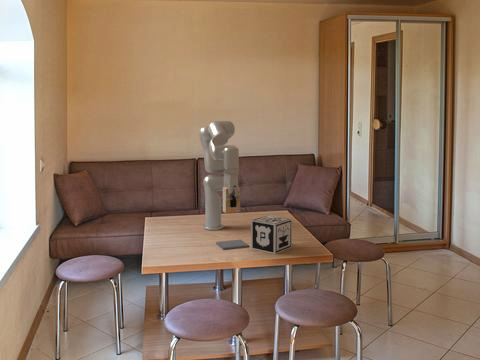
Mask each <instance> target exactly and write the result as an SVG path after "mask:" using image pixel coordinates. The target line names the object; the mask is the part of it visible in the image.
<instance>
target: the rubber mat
mask: <svg viewBox="0 0 480 360" xmlns="http://www.w3.org/2000/svg"><path fill="white" fill-rule="evenodd" d="M215 245H217V247H219V248H221V249H222V250H223V251H224V250H234V249H243V248H250V245H249V244H248V243H247V242H245V241H243V240H242V239H232V240H222V241H216V242H215Z"/></svg>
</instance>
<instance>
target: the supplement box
mask: <svg viewBox="0 0 480 360" xmlns="http://www.w3.org/2000/svg"><path fill="white" fill-rule="evenodd" d="M233 193H234V192H232V194H233ZM237 194H238V195H237V206H236V207H230V200H231V194H228V188H226V187H223V191H222V213H224V214H235V213H241V187H240V186H238V193H237ZM232 197H233V195H232Z"/></svg>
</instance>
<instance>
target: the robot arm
mask: <svg viewBox="0 0 480 360" xmlns="http://www.w3.org/2000/svg"><path fill="white" fill-rule="evenodd" d="M235 128H236V127H235V125H234V123H233V122H232V121H231V120H216V121H212V122H210V123H209V125H208V126H204V127H201V128H200V129H199V131H198V132H199V133H198V135H199V141H200V144H201V146H202V150H203V160H204V161H203V162H204V169H205V171H206V172H207V173H211V174H209V175H206V176H205V177H204V178H203V181H202V184H203V189H204V204H205V205H204V206H205V212H204V214H205V215H204V216H205V224H203V225H202V228H203V229H204V230H209V231H218V230H222V229H225V225H224V224H222V197H221V196H220V194H219V193H218V192H223V187H226V188H228V194H231V200H230V207H236V206H237V195H238V194H237V193H238V187H239V177H238V175H239V174H240V172H239V171H240V168H239V167H240V165H239V164H240V163H239V162H240V159H239V158H240V157H239V156H240V155H239V154H240V151H239V148H238V147H237V146H236V145H231V144H230V145H227V143H228V141H229V140H230V139H231V138H232V137H233V136H234V135H235V131H236V129H235ZM212 173H213V174H212ZM216 173H217V174H216ZM218 173H223V174H218ZM232 192H234V193H233V194H232ZM232 195H233V197H232Z"/></svg>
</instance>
